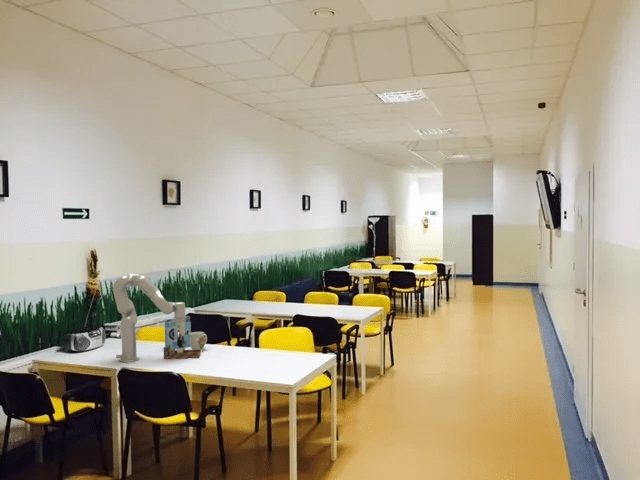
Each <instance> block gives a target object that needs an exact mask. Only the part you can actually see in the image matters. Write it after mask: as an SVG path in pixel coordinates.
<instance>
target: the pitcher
mask: <svg viewBox="0 0 640 480" xmlns="http://www.w3.org/2000/svg"><path fill="white" fill-rule="evenodd" d="M189 335H191V337H190V348H191V349H190V350H197V349H201V352H202V351H203V349H204V348H205V345H206V343H207V341H208V336H207V334H206V333H205V332H204V331H194V332H192V331H191V333H190V334H189Z"/></svg>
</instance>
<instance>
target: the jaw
mask: <svg viewBox="0 0 640 480" xmlns="http://www.w3.org/2000/svg"><path fill="white" fill-rule="evenodd" d="M180 336H181V335H180ZM181 340H182V346H179V347H178V348H176V350H177V353H185V350H186V349H185V348H186V347H185V346H183V336H182V338H181Z"/></svg>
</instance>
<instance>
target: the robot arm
mask: <svg viewBox="0 0 640 480" xmlns="http://www.w3.org/2000/svg"><path fill="white" fill-rule="evenodd" d="M112 285H113V286H112V292H113V295H114V300H115V304H116V308H117V311H118V313H119V314H121V315H122V318H121V320H120V325H119V326H120V336H121V339H120V340H121V353H120V354H116V355H115V358H116V359H119V362H121V363H133V362H137V361H138V360H140V358H139V356H137V334H136V333H137V332H136V324H137V322H138V315H137V312H136V309H135V304H134V302H133V301H132V300H131V299H130V298H129V296H128V292H127V288H128V287H130V286H131V287H138V288H139V289H140V290H141V291H142V292H143V293H144V294H145V296H146V297H148V298H149V299H150V300H151V301H152V303H153V304H154V306H156V308H157V309H159V311H161V312H162V313H163V314H164V315H171V314H172V313H174V314H173V315H174V319H175V322H176V336H177V346H182V340H181V338H182V336H183V344H184V335H185V317H186V303H185V302H183V301H178V302H177V301H176V302H173V301H167V300H166V298H164V296H163V295H162V293H161V291H160V289H159V288H158V287H157V285H155V284H154V283H153V282H152V281H151V280H150V277H149V276H148V275H146V274H137V273H136V274H133V273H126V274H125V273H124V274H123V275H121V276H119V277H118V278H116V279H115V281H114V282H113V284H112ZM180 335H181V336H180Z"/></svg>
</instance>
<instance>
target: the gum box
mask: <svg viewBox="0 0 640 480" xmlns="http://www.w3.org/2000/svg"><path fill="white" fill-rule="evenodd" d="M191 321H192V320H191V316H189V315H188V316H185V335H184V344H183V346H185V348H188V347H190V348H191V346H190V337H191V335H189V334H190V333H192V323H191ZM164 341H165V342H164V347H165V346H166V345H170V349H174V350H177V348H178V347H179V346H177V336H176V322H175V319H174V318H173V317H171V318H165V319H164Z"/></svg>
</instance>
